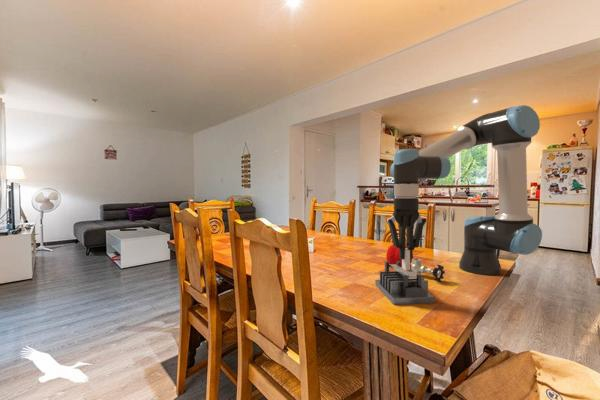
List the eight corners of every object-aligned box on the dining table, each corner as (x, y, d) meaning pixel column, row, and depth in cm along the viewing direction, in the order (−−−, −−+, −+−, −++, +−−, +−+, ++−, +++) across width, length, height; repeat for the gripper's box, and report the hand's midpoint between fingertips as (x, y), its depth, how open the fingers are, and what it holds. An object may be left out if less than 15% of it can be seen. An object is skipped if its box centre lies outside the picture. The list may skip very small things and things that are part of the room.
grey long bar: (388, 266, 103) (388, 261, 103) (396, 266, 103) (395, 260, 103) (408, 279, 87) (408, 272, 87) (417, 279, 87) (417, 272, 87)
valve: (406, 275, 113) (435, 284, 103) (407, 259, 113) (435, 266, 103) (416, 272, 117) (444, 280, 107) (416, 257, 117) (445, 263, 107)
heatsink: (374, 284, 103) (374, 261, 103) (408, 283, 104) (409, 260, 104) (393, 304, 86) (393, 277, 85) (434, 303, 86) (435, 276, 86)
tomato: (381, 263, 131) (381, 241, 130) (403, 262, 133) (403, 240, 133) (394, 271, 119) (394, 247, 119) (418, 269, 121) (418, 246, 121)
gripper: (419, 196, 95) (419, 264, 96) (382, 197, 94) (382, 266, 95) (431, 197, 88) (431, 271, 89) (390, 198, 87) (390, 273, 88)
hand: (405, 268), depth 92 cm, fingers closed
